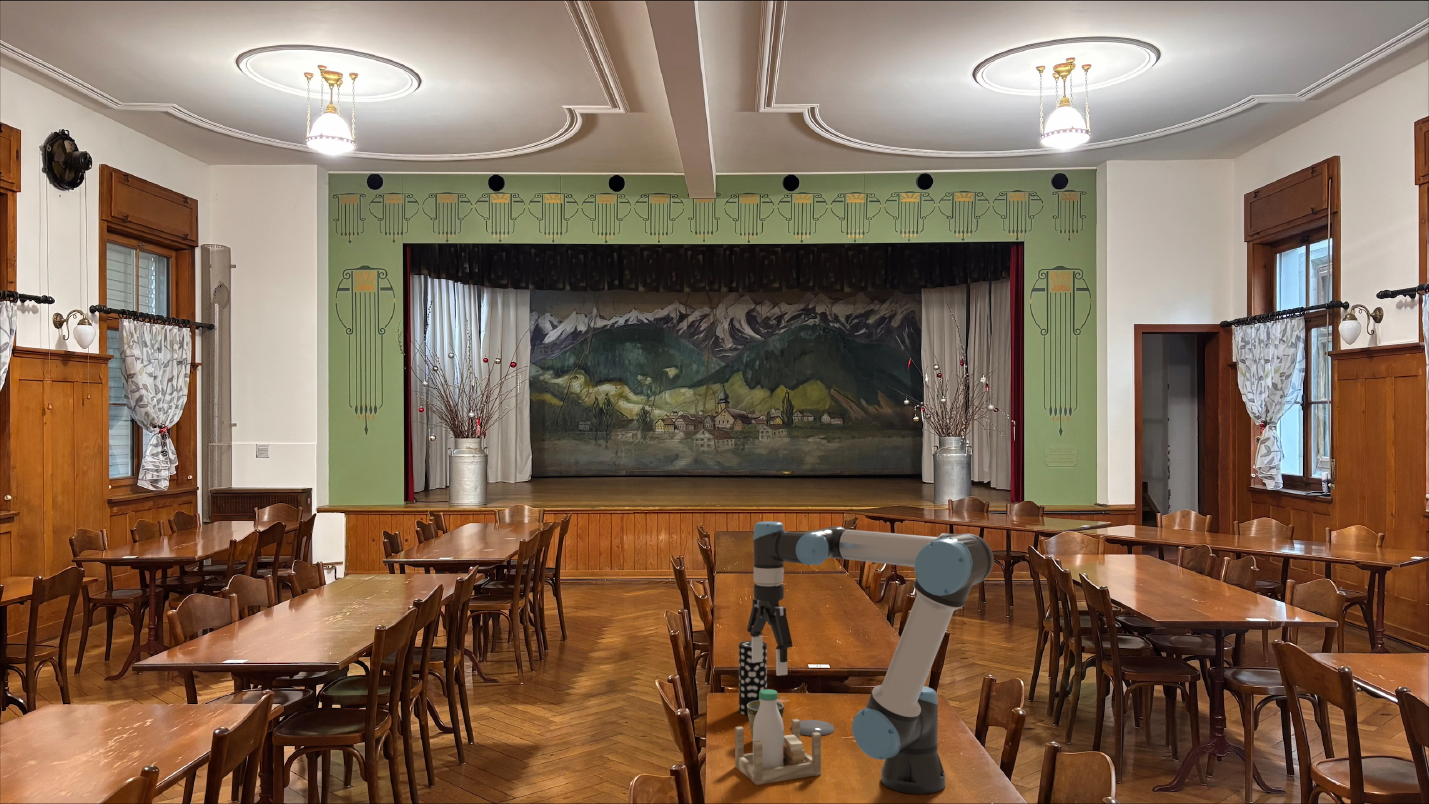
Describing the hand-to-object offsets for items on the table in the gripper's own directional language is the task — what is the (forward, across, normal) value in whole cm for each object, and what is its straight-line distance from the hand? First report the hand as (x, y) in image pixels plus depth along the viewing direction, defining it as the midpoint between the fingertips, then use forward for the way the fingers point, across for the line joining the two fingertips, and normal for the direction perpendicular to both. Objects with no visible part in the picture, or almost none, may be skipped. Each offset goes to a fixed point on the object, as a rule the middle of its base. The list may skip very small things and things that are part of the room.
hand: (769, 668), depth 241 cm
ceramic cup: (+25, +16, -6) cm, 30 cm away
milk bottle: (+25, -3, +2) cm, 25 cm away
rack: (+25, -3, -1) cm, 25 cm away
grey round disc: (+25, +21, -24) cm, 41 cm away
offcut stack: (+25, -3, -5) cm, 25 cm away
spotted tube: (+25, +43, -16) cm, 52 cm away
